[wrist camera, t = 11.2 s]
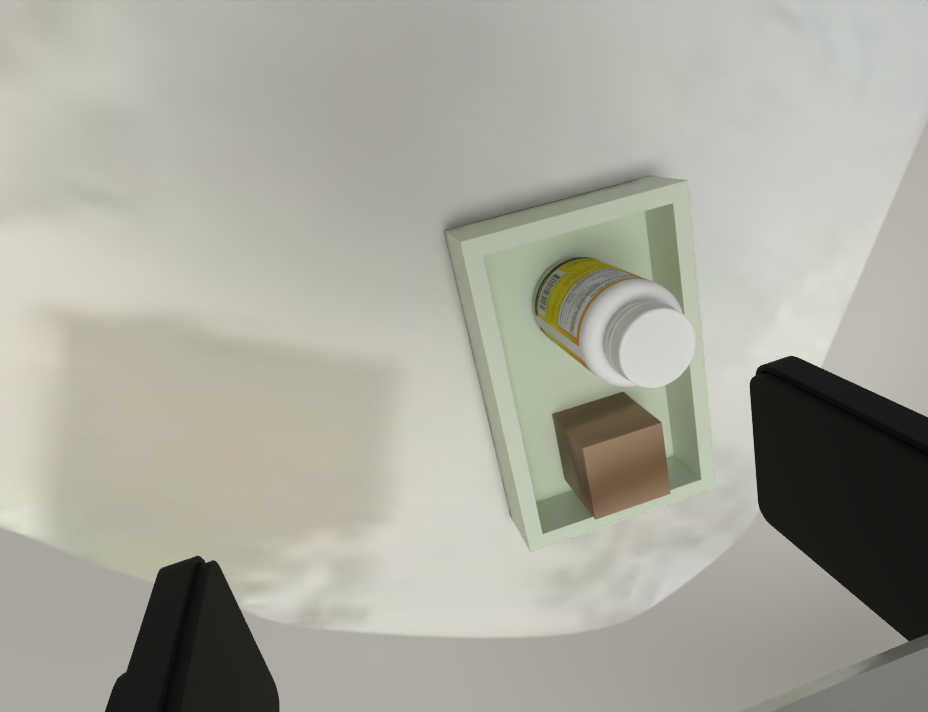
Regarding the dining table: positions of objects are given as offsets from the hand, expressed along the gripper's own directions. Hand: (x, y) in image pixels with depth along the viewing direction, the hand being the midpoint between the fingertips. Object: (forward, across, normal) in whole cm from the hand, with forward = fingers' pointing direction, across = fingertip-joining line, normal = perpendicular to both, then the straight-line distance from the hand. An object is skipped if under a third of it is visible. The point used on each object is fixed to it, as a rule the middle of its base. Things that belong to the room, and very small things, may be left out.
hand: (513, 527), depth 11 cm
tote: (+28, -11, +10) cm, 32 cm away
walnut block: (+27, -11, +16) cm, 33 cm away
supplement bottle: (+27, -11, +6) cm, 30 cm away
